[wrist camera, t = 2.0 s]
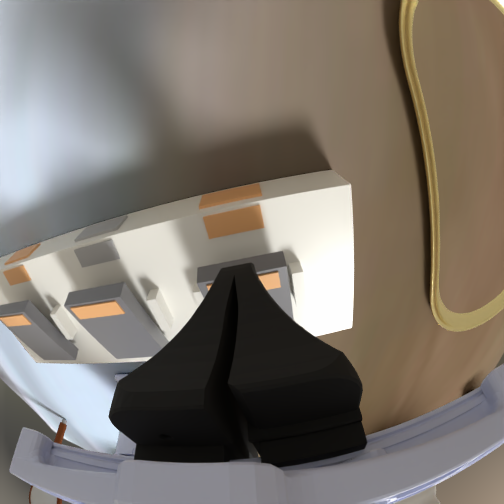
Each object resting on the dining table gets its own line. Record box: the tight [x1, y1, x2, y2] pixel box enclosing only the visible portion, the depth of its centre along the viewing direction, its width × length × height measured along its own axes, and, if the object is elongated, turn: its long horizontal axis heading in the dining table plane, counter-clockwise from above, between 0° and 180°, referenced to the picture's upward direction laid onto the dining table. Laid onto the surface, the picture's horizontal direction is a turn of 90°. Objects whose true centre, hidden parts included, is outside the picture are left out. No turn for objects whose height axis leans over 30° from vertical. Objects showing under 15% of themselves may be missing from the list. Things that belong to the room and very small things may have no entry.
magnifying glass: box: [29, 419, 67, 504], centre depth 23 cm, size 9×2×20 cm, turn 111°
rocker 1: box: [0, 300, 79, 360], centre depth 16 cm, size 6×4×1 cm, turn 11°
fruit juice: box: [393, 485, 440, 504], centre depth 32 cm, size 9×9×28 cm
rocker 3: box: [197, 251, 294, 320], centre depth 15 cm, size 6×4×1 cm, turn 11°
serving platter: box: [399, 0, 504, 331], centre depth 15 cm, size 19×35×2 cm, turn 21°
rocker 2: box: [64, 282, 169, 359], centre depth 15 cm, size 6×4×1 cm, turn 11°
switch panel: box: [0, 170, 354, 364], centre depth 17 cm, size 10×28×4 cm, turn 101°
